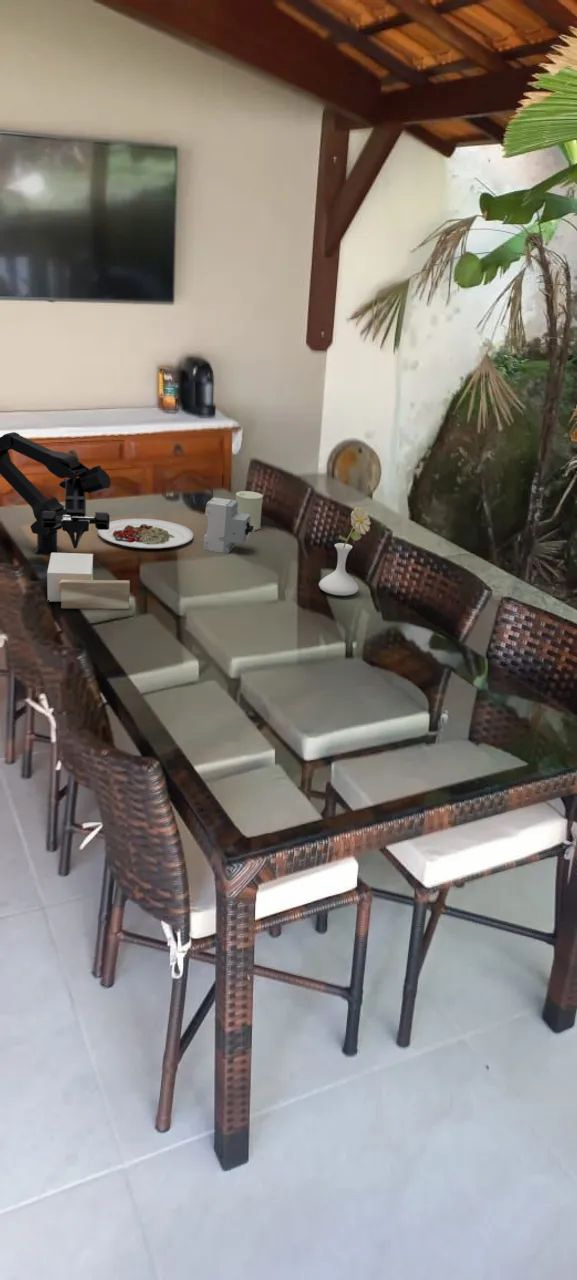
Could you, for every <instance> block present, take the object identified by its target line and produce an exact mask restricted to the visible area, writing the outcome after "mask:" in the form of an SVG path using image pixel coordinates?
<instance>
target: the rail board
mask: <svg viewBox="0 0 577 1280" xmlns="http://www.w3.org/2000/svg"><path fill="white" fill-rule="evenodd" d="M130 585H131V584H130V580H129V579H128V580H127V579H126V580H123V579H122V580H119V579H117V580H116V579H115V580H113V579H108V580H107V579H93V580H61V602H60V604H61V605H60V608H61V609H99V608H100V609H102V610H103V609H111V610H113V609H114V610H115V609H116V610H120V609H123V610H124V609H125V610H126V609H130V592H131V591H130V590H131V589H130V588H131V587H130ZM100 609H99V610H100Z"/></svg>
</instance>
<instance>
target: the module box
mask: <svg viewBox="0 0 577 1280" xmlns="http://www.w3.org/2000/svg"><path fill="white" fill-rule="evenodd" d="M49 557H50V558H49V562H48V566H47V567H48V568H47V573H46V577H47V578H46V579H47V582H46V583H47V586H46V587H47V601H48V600H49V601H48V602H58V603H59V602H60V603H61V592H59V581H61V580H94V553H73V552H72V553H71V552H69V553H68V552H59V553H51V554H50V556H49Z"/></svg>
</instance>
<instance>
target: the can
mask: <svg viewBox="0 0 577 1280" xmlns="http://www.w3.org/2000/svg"><path fill="white" fill-rule="evenodd" d="M263 499H264V496H263V494H262V493H259V492H257V491H256V492H255V491H247V490H243V491H237V492H236V493H235V501H238V507H237V513H244V514H250V515H251V518H250V526H254V527H253V529H257V528H260V529H261V519H262V508H263V507H262V506H263Z"/></svg>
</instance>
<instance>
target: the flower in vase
mask: <svg viewBox="0 0 577 1280" xmlns="http://www.w3.org/2000/svg"><path fill="white" fill-rule="evenodd" d="M368 513H369V512H368ZM368 513H367V512H366V510H365V508H363V507H362V506H360V507H359V506H356V507H354V508H353V510H352V511H351V514H350V521H351V523H350V524H351V526H352V528H351V529H350V530H351V531H350V532H349V534H348V536H347V538H346V537H343V535H341V534H339V536H338V539H339V540H341V541H345V542H343V543H342V542H338V543H335V544H334V548H335V549H336V552H337V562H336V563H337V565H336V568H335V570H334V571H333V572H331V573H330V574H328V575H325V576H324V577H323V578H322V579H320V581H319V582H318V586H319V588H320V590H322V591H323V592H325V593H327V594H330V595H334V596H351V595H355V594H356V593H357V592H358V591H359V586H358V583H357V582H356V581H355V580H354V579H353V578H352V577H351V576H350V575H349V574H348V573H347V571H346V561H347V558H348V554H349V553H350V551H351V550H352V548H353V545H351V544H349V543H348V541H349V539H350V538H351V539H352V540H353V541H355V542H356V541H359V540H360V539H361V538H362V535H366V532H369V531H370V529H371V528H370V525H371V521H370V519H371V518H369V514H368ZM353 530H354V531H353Z"/></svg>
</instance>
